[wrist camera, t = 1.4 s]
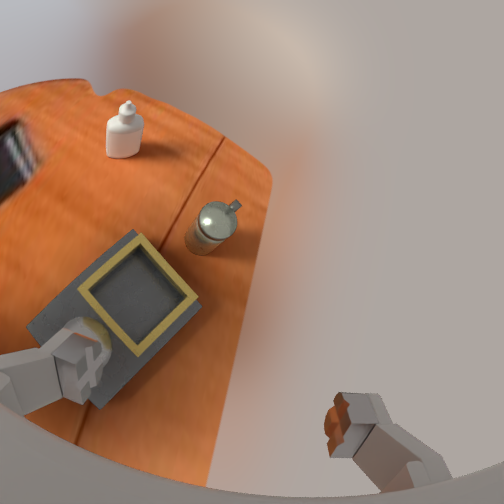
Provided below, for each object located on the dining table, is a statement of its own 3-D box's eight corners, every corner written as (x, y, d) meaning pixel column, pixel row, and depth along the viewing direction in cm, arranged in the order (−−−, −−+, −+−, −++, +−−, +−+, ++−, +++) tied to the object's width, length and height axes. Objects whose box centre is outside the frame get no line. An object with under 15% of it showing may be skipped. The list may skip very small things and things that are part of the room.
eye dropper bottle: (133, 165, 44) (141, 119, 34) (102, 156, 42) (103, 108, 32) (142, 144, 46) (153, 97, 35) (112, 136, 44) (117, 87, 33)
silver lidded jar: (177, 237, 45) (192, 214, 36) (208, 211, 48) (229, 185, 40) (199, 262, 45) (219, 245, 37) (229, 235, 48) (254, 214, 40)
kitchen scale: (101, 403, 33) (99, 414, 28) (34, 327, 32) (21, 326, 27) (195, 308, 43) (206, 305, 38) (131, 237, 42) (134, 223, 36)
